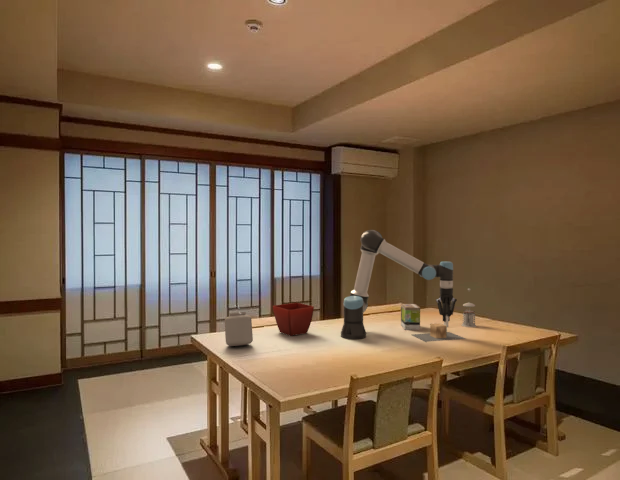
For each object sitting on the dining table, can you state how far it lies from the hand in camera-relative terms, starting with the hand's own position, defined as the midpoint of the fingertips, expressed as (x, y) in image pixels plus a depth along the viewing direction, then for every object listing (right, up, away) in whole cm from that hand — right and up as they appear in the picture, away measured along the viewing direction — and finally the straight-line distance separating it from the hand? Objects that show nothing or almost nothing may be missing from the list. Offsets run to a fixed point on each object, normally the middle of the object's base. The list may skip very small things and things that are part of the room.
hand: (446, 326), depth 269 cm
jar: (-121, -7, -20) cm, 123 cm away
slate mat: (-5, -6, -1) cm, 8 cm away
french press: (+24, -5, +30) cm, 39 cm away
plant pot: (-92, -6, +10) cm, 92 cm away
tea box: (-16, -6, +25) cm, 30 cm away
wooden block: (-1, -2, 0) cm, 3 cm away
